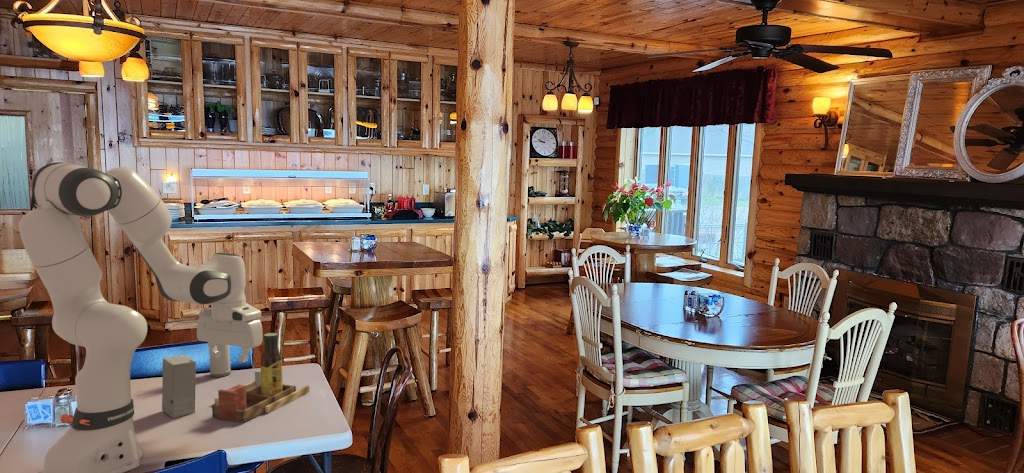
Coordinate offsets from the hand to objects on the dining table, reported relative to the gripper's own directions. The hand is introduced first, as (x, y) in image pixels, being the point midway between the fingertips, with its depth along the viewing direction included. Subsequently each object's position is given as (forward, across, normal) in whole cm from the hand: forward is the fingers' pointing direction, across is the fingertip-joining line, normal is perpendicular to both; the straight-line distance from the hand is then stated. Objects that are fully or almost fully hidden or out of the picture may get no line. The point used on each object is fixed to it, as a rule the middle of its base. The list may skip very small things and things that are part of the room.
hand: (229, 359), depth 185 cm
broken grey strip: (+16, -9, +17) cm, 25 cm away
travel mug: (+16, -31, +29) cm, 46 cm away
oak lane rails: (+17, -3, +17) cm, 24 cm away
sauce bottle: (+17, 0, +18) cm, 24 cm away
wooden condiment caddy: (+16, 0, +10) cm, 19 cm away
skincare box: (+17, -17, -1) cm, 24 cm away
